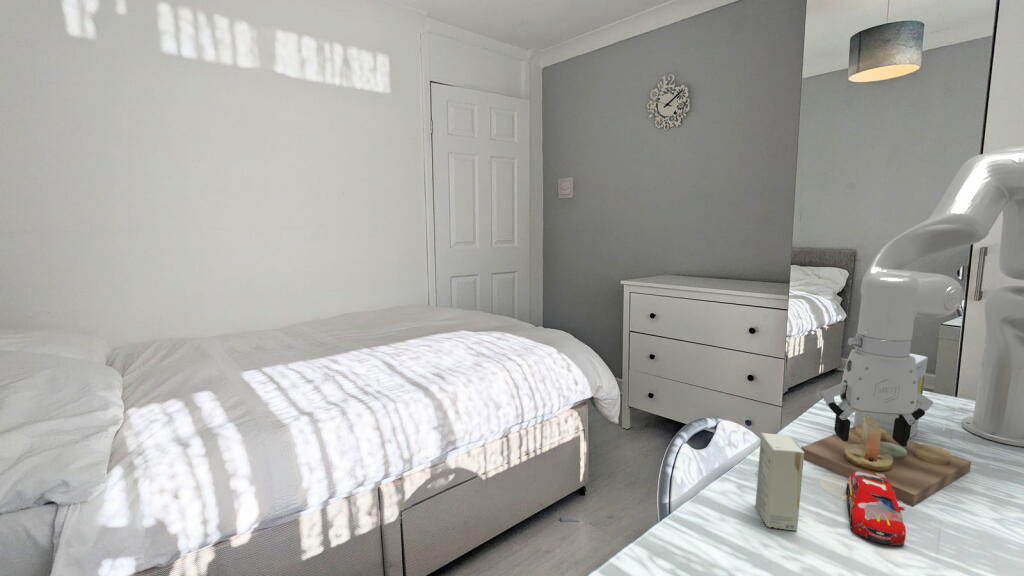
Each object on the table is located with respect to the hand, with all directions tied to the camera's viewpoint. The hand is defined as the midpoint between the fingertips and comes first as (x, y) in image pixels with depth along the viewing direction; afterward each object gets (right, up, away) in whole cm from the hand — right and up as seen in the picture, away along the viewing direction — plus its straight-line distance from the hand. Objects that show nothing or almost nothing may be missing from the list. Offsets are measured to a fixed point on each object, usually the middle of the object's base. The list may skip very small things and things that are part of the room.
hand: (870, 440), depth 88 cm
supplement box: (+16, -4, +18) cm, 25 cm away
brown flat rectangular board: (+5, -6, +4) cm, 9 cm away
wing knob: (0, -4, +1) cm, 4 cm away
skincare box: (-23, -8, -12) cm, 28 cm away
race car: (-8, -8, -12) cm, 17 cm away
